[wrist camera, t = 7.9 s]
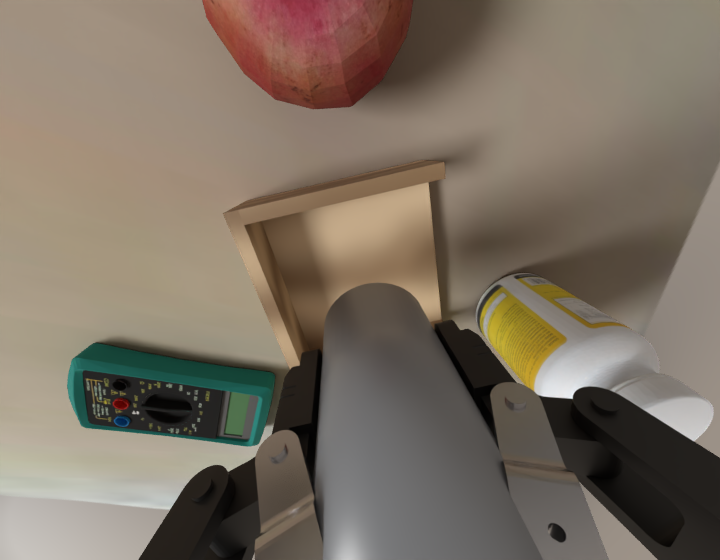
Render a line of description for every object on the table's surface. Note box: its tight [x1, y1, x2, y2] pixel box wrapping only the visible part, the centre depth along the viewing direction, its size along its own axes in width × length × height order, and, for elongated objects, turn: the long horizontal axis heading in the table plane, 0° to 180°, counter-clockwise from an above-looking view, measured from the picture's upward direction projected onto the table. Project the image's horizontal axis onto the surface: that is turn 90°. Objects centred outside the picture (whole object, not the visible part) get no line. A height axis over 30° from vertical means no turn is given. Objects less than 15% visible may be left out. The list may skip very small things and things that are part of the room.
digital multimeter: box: [67, 343, 275, 446], centre depth 23 cm, size 7×15×3 cm, turn 73°
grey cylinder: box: [313, 283, 543, 560], centre depth 9 cm, size 5×5×10 cm
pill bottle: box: [476, 273, 714, 441], centre depth 18 cm, size 6×6×12 cm
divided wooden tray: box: [223, 160, 445, 369], centre depth 21 cm, size 24×12×4 cm, turn 12°
